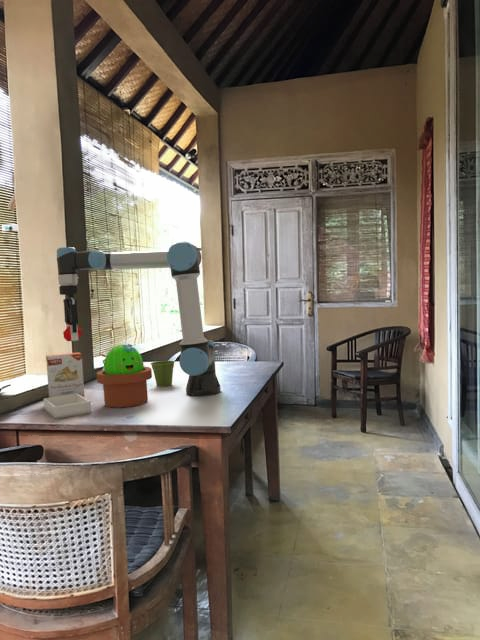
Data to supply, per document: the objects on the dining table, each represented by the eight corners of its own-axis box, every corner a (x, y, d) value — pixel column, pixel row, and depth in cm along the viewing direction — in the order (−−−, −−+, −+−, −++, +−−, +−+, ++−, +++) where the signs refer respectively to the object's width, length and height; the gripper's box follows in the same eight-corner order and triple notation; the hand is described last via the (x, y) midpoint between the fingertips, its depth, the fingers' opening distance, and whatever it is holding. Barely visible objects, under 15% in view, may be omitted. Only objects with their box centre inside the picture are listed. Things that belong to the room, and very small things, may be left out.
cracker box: (51, 406, 210) (47, 356, 208) (49, 403, 215) (45, 355, 214) (85, 401, 216) (81, 352, 215) (82, 398, 222) (79, 351, 220)
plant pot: (178, 382, 247) (177, 359, 246) (173, 387, 235) (171, 363, 235) (155, 383, 248) (154, 360, 248) (148, 388, 237) (147, 364, 236)
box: (91, 412, 194) (90, 401, 194) (55, 419, 187) (54, 407, 187) (77, 403, 212) (76, 393, 211) (44, 409, 204) (43, 398, 204)
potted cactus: (93, 402, 212) (88, 344, 210) (142, 394, 223) (138, 338, 221) (107, 412, 193) (102, 348, 191) (161, 403, 204) (157, 342, 203)
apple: (60, 329, 205) (78, 320, 208) (59, 331, 211) (77, 323, 214) (67, 344, 205) (86, 335, 208) (67, 345, 211) (85, 337, 214)
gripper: (83, 283, 202) (87, 340, 203) (72, 285, 219) (76, 337, 220) (64, 284, 198) (68, 342, 199) (54, 286, 215) (58, 339, 217)
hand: (72, 339), depth 210 cm, fingers closed on apple, 7 cm apart
